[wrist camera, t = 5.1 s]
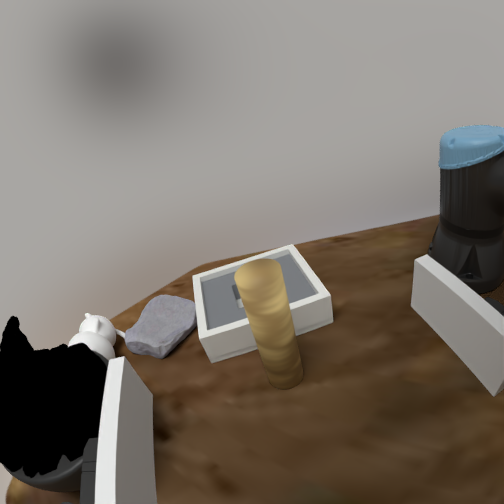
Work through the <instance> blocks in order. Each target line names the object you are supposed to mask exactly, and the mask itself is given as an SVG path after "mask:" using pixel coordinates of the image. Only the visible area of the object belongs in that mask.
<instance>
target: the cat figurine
mask: <svg viewBox="0 0 504 504" xmlns="http://www.w3.org/2000/svg"><path fill="white" fill-rule="evenodd" d="M85 316H86V319H85V320H84V321H83V322H82V324H81V325H80V329H79V333H78V334H77V335H75V336H74V337H73V338H72V339H71V340H70V342H69V345H68V347H69V346H71V345H74V344H77V343H85V344H86V345H87V346H88V347H89V348H90V349H91V350H93V351H96V352H98V353H100V354H101V355H103V356H104V357H105V358H106V359H107V360H108V361H109V360H111V359H115V352H114V349H113V346H114V344H115V342H116V333H117V334H118V335H120V336H121V337H123V338H124V339H125V333H124V332H122V331H119V330H117V329H115V328H114V326H113V324H112V323H111V322H110V321H109V320H108V319H107V318H105V317H103V316H98V315H94V316H92V315H90V314H89V313H86V314H85Z"/></svg>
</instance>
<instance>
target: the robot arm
mask: <svg viewBox="0 0 504 504" xmlns="http://www.w3.org/2000/svg"><path fill="white" fill-rule="evenodd" d="M439 167H440V217H439V224H438V226H437V229H436V231H435V234H434V236H433V239H432V242H431V244H430V246H429V249H428V255H424V256H422V257H420V258H417V259H415V263H414V277H413V289H412V299H411V307H412V308H413V309H414V310H415V311H416V312H417V313H418V314H419V315H420V316H421V317H422V318H423V319H424V320H425V321H426V322H427V323H428V324H429V325H430V326H431V327H432V328H433V329H434V331H435V332H436V333H437V334H438V335H439V336H440V337H441V338H442V339H443V340H444V341H445V342H446V343H447V344H448V345H449V347H450V348H451V349H452V350H453V351H454V352H455V353H456V354H457V355H458V356H459V358H460V359H461V360H462V361H463V362H464V363H465V364H466V365H467V366H468V368H469V369H470V370H471V371H472V372H473V373H474V374H475V376H476V377H477V378H478V379H479V380H480V381H481V383H482V384H483V385H484V386H485V387H486V388H487V390H488V391H489V392H490V393H491V394H492V396H493V397H494V396H495V395H497V394H498V393H499V392H500V391H501V390H503V389H504V306H503V305H502V304H501V303H499V302H498V301H496V300H494V299H491V298H489V297H487V298H485V299H483V298H482V297H480V296H479V295H478V294H480V293H485V292H489V291H491V290H493V289H495V288H497V287H498V286H499V285H500V284H501V283H502V281H503V279H504V128H502V127H498V126H496V127H495V126H489V125H475V126H465V127H459V128H455V129H452V130H450V131H448V132H446V133H445V134H444V135H443V136H442V137H441V140H440V160H439ZM61 504H72V503H70V502H63V503H61ZM80 504H157V497H156V485H155V469H154V448H153V394H152V393H151V392H150V391H149V389H148V388H147V387H146V385H145V384H144V383H143V381H142V380H141V379H140V377H139V376H138V374H137V373H136V372H135V370H134V369H133V368H132V366H131V365H130V363H129V362H128V360H127V359H126V358H125V356H123V357H119V358H115V359H111V360H109V364H108V370H107V376H106V382H105V389H104V396H103V403H102V411H101V419H100V428H99V438H90V439H89V440H88V442H87V444H86V446H85V448H84V452H83V464H82V474H81V488H80Z"/></svg>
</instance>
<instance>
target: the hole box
mask: <svg viewBox="0 0 504 504" xmlns="http://www.w3.org/2000/svg"><path fill="white" fill-rule="evenodd" d="M263 258H267V259H273V260H276V261H277V262H279V264H280V265H281V269H282V274H283V278H284V283H285V287H286V292H287V296H288V301H289V306H290V310H291V315H292V320H293V324H294V329H295V334H296V336H297V335H300V334H303V333H306V332H309V331H311V330H314V329H317V328H319V327H322V326H325V325H327V324H330V323H332V322H333V312H332V302H331V295H330V293H329V292H328V291H327V289H326V288H325V287H324V285H323V284H322V283H321V281H320V280H319V279H318V277H317V276H316V275H315V273H314V272H313V271H312V269H311V268H310V266H309V265H308V264H307V262H306V261H305V260H304V258H303V257H302V256H301V255H300V253H299V252H298V251H297V249H296V248H295V247H294V245H293V244H290V245H288V246H284V247H281V248H278V249H275V250H272V251H269V252H266V253H263V254H259V255H256V256H253V257H250V258H247V259H244V260H241V261H238V262H235V263H231V264H228V265H225V266H222V267H219V268H216V269H213V270H210V271H206V272H203V273H200V274H197V275H194V276H193V286H194V296H195V306H196V315H197V324H198V333H199V340H200V342H201V344H202V346H203V348H204V350H205V351H206V353H207V355H208V357H209V359H210V361H211V363H214V362H218V361H221V360H224V359H228V358H231V357H234V356H237V355H241V354H244V353H247V352H250V351H253V350H256V349H258V347H257V344H256V341H255V339H254V336H253V333H252V330H251V327H250V324H249V321H248V318H247V315H246V312H245V309H244V306H243V303H242V300H241V297H240V294H239V291H238V288H237V285H236V282H235V279H234V275H235V272H236V271H237V270H238V268H240V267H241V266H242V265H244V264H245V263H247V262H250V261H252V260H256V259H263Z"/></svg>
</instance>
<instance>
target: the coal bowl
mask: <svg viewBox="0 0 504 504" xmlns="http://www.w3.org/2000/svg"><path fill="white" fill-rule="evenodd" d="M19 325H20V324H19V320H18V318H17V317H14V316H12V317H11V318H10V319H9V321H8V322H7V325H6V327H5V330H4V331H3V334H2V336H3V337H2V342H1V344H0V463H2V464H3V466H4V467H5V468H6V470H7V471H8V472H9V473H10V474H11V475H12V476H14V477H15V478H17V479H18V480H20V481H22V482H24V483H26V484H28V485H30V486H33V487H36V488H39V489H43V490H47V491H54V492H72V491H78V490H80V488H81V474H82V464H83V452H84V448H85V446H86V444H87V442H88V440H89V439H90V438H99V428H100V419H101V411H102V403H103V396H104V389H105V382H106V376H107V370H108V364H109V361H108V360H107V359H106V358H105V357H104V356H103V355H101V354H100V353H98V352H96V351H93V350H91V349H90V348H89V347H88V346H87V345H86V344H85V343H77V344H74V345H71V346H69V347H68V346H67V345H66V344H62V345H59V346H58V347H55V348H52V349H51V350H49V349H42V350H34V349H33V348H32V346H31V345H30V343H29V342H28V340H27V337H26V336H25V335H24V334H23V333H22V332H21V331H20V329H19Z"/></svg>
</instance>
